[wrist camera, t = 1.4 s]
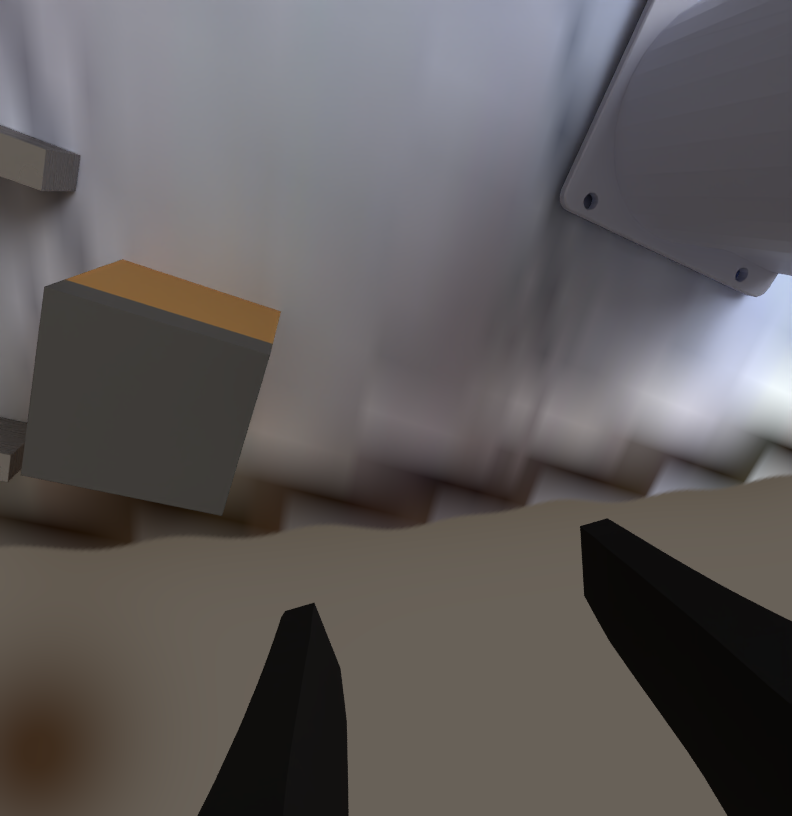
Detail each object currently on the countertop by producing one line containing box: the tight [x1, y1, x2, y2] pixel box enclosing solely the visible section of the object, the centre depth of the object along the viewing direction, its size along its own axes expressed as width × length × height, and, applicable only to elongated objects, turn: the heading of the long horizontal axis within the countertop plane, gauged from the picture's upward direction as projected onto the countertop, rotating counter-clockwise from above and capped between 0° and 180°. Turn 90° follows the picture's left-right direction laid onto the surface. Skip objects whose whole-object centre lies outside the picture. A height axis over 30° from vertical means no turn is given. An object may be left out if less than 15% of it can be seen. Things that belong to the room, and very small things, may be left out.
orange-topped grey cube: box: [21, 259, 281, 516], centre depth 14 cm, size 5×5×5 cm
